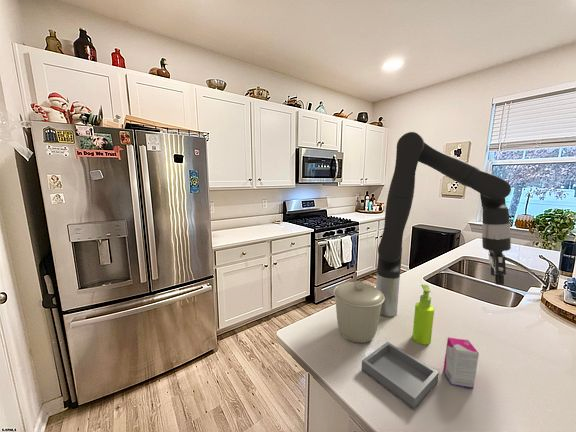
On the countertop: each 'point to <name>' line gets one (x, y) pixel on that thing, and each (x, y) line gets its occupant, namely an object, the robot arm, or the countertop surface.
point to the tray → (400, 374)
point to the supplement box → (460, 363)
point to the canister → (358, 310)
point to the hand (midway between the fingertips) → (497, 279)
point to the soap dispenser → (423, 318)
